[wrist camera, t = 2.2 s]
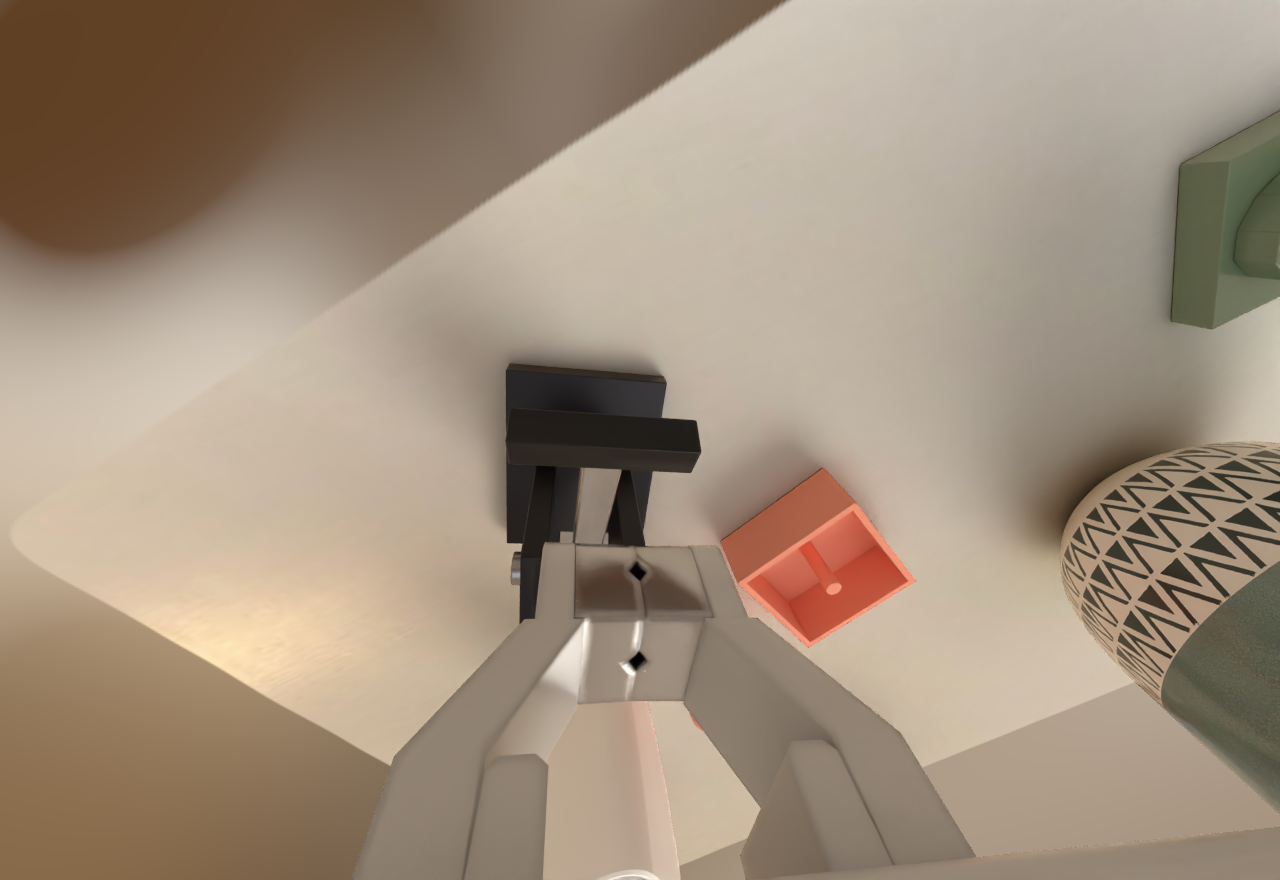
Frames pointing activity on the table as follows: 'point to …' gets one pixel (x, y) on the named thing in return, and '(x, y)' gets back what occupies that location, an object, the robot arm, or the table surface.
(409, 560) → the table surface
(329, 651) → the table surface
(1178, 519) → the planter
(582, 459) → the lever
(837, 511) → the pottery
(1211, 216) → the control block
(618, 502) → the bracket
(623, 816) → the cup
